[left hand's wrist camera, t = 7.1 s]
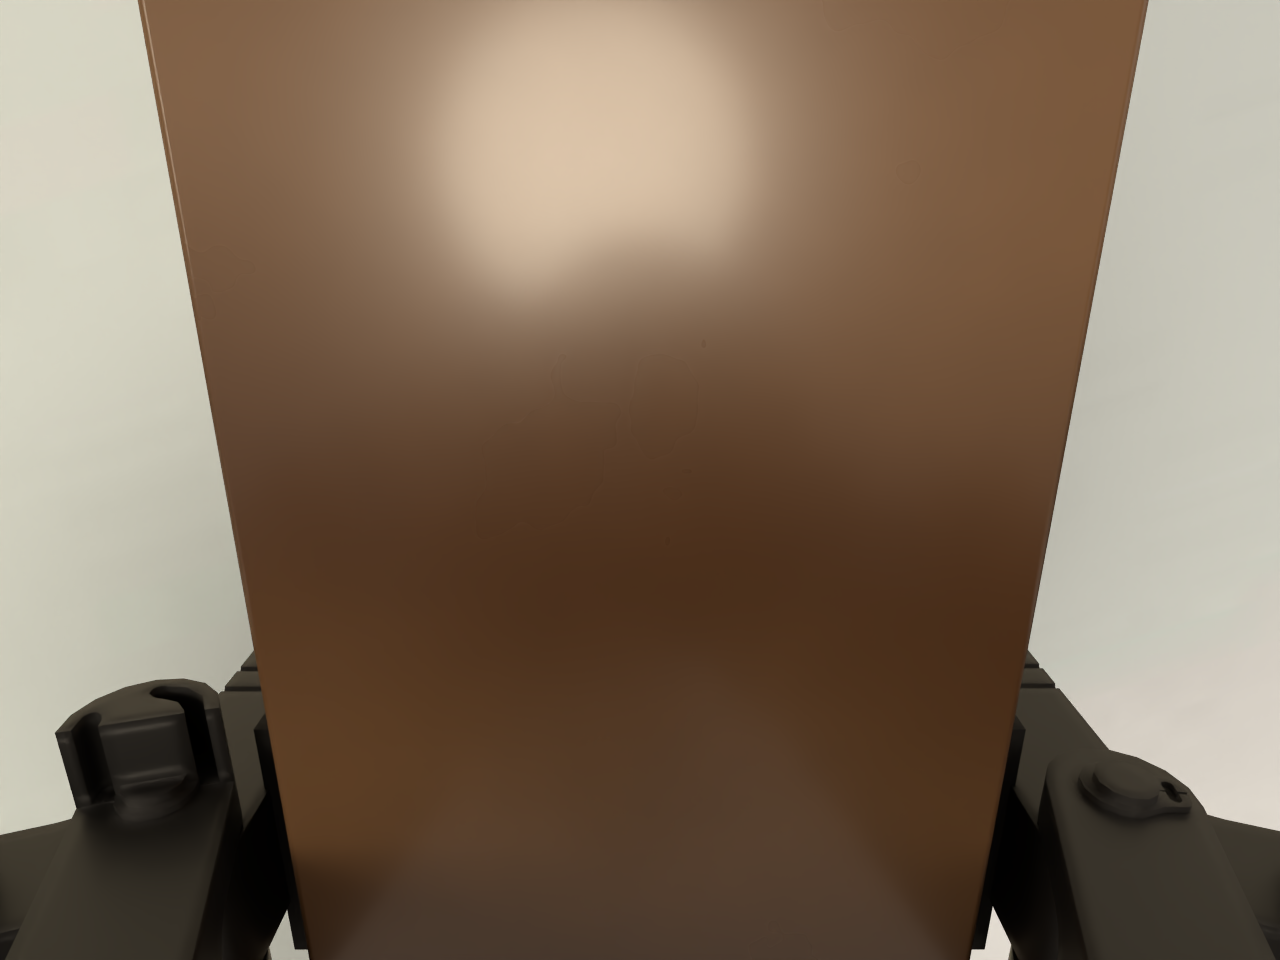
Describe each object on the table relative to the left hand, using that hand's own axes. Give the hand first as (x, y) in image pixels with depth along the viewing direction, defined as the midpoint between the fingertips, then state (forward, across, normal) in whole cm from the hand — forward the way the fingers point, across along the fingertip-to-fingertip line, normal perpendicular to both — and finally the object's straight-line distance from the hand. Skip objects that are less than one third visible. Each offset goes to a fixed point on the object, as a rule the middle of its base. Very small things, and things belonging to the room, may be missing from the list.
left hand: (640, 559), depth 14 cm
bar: (+1, 0, -31) cm, 31 cm away
